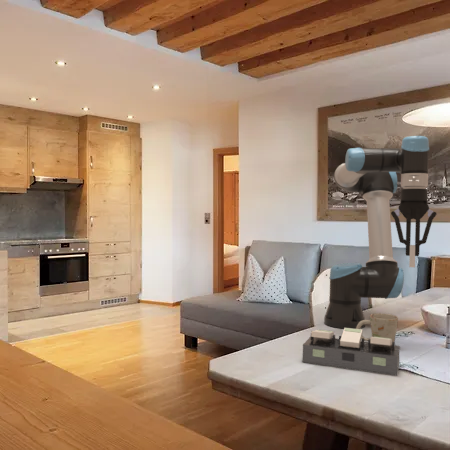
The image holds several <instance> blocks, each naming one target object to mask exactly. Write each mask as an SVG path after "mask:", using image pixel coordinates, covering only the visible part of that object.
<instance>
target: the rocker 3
mask: <svg viewBox="0 0 450 450" xmlns="http://www.w3.org/2000/svg"><path fill="white" fill-rule="evenodd" d="M370 338H371V340H370V343H374V344H382V345H392V339H391V338H383V337H372V336H371V337H370Z"/></svg>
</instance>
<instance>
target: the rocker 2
mask: <svg viewBox="0 0 450 450" xmlns="http://www.w3.org/2000/svg"><path fill="white" fill-rule="evenodd" d="M341 336H342V337H341V340H340V346H346V347H354V348H359V346H360V342H361V341H362V339H361V338H362V336H363V329H362V328H360V329H352V328H343V332H342V335H341Z"/></svg>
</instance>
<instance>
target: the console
mask: <svg viewBox="0 0 450 450" xmlns="http://www.w3.org/2000/svg"><path fill="white" fill-rule="evenodd" d="M341 337H342V335H338V338H337V337H336V334H334V335H333V336H332V338H330V339H327V338H318V337H311V336H309V338H308V339H307V340H305V342H304V343H303V344H302V363H305V364H312V365H318V366H319V365H320V366H327V367H334V368H341V369H346V370H347V369H348V370H354V371H361V372H367V373H368V372H369V373H375V374H381V375H388V376H389V375H390V376H395V377H397V376H398V374H399V373H398V372H399V368H398V367H400V352H401V351H400V350H401V349H400V348H401V345H396V344H395V342H396V341H394V342H392V345H382V344H374V343H370V340H371V339H369V340H368V341H364V338H365V337H364V338H362V339H361V342H360V346H359V348H354V347H346V346H340V340H341Z"/></svg>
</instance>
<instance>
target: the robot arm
mask: <svg viewBox="0 0 450 450" xmlns="http://www.w3.org/2000/svg"><path fill="white" fill-rule="evenodd" d="M429 142H430V140H429V138H428V137H427V136H424V135H411V136H409V135H408V136H405V137H403V138H402V140H401V146H400V147H398V148H397V147H396V148H395V147H393V148H391V147H387V148H386V147H384V148H383V147H381V148H380V147H379V148H377V147H375V148H374V147H373V148H372V147H353V148H352V147H351V148H348V149H347V151H346V153H345V160H344V162H343V163H341V164H340V165H338V166H337V167H336V169H335V171H334V173H333V180H334V183H335V184H336V186H337V187H338V188H340V190H341V189H342V190H343V191H346V192H349V193H357V194H358V193H359V194H362V199H363V200H364V201H366V213H367V215H366V216H367V232H368V252H369V254H368V255H369V259H368V260H367V261H366V262H365V266H363V264H362V263H361V262H346V263H343V262H342V263H339V264H333V266H331V268H330V271H329V272H330V273H329V300H328V302H329V304H328V307H327V308H326V312H325V314H324V321H323V323H324V325H326V326H328V327H332V328H337V329H344V328H352V329H356V327H357V325H358V323H359V322H360V321H362V320H366V318H365V315H364V311H363V308H362V298H365V299H384V300H387V299H397V298H398V297H400V295H401V294H402V291H403V289H404V288H403V287H404V281H405V273H404V270H403V268H401V267H398V266H399V265H398V261H397V260H396V259H394V257H393V256H394V255H393V254H394V253H393V237H392V224H391V223H392V222H391V216H392V217H393V219H394V222H395V228H396V233H397V236H398V240H399V242H400V244H401V243H402V244H404V245H405V256H408V257H409V264H408V265H409V266H408V267H409V268H415V267H416V257H419V255H420V246H421V245H424V244H426V243H427V240H428V238H429V234H430V229H431V226H432V223H433V220H434V218H435V217H436V216H437V211H433V210H432V209H430V206H429V204H428V192H429V191H428V189H426V188H427V187H429V157H430V154H429V153H430V143H429ZM397 174H400V187H401V188H402V189H401V190H400V198H399V199H400V203H399V205H398V207H397V208H396V209H395V210H393V211H392V210H391V208H390V207H391V205H390V204H391V203H390V200H391V199H392V198H393V195H394V194H395V193H396V192H397V189H398V175H397ZM400 213H401V214H402V216H403V217H404V218H405V219H406V221H405V223H406V227H405V228H406V230H405V238H404V234H403V230H402V225H401V222H400V218H399V217H400V215H401V214H400ZM426 214H427V217H428V218H427V222H426V225H425V228H424V232H423V235H422V239H420V238H421V219H422V218H423V217H425V215H426ZM412 220H415V235H414V241H415V243H414V244H411V234H412V233H411V232H412V231H411V230H412V229H411V228H412ZM365 327H366V324H363V325H362V326H361V328H360V329H362V328H365Z"/></svg>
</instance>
